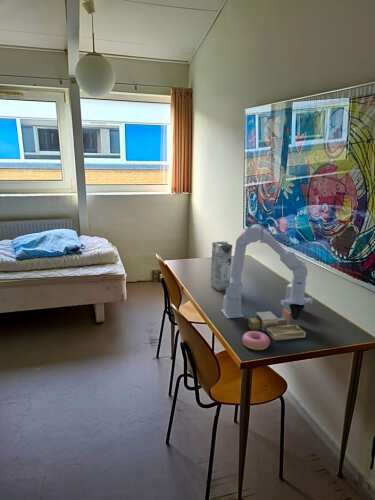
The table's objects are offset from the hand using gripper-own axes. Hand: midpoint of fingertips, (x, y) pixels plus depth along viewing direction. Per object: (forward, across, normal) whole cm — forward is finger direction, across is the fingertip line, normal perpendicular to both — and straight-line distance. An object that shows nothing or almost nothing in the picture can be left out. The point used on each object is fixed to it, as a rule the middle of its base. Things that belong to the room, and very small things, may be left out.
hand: (294, 318), depth 163 cm
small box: (+3, +7, +14) cm, 15 cm away
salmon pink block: (+2, -8, 0) cm, 8 cm away
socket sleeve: (+2, -14, 0) cm, 14 cm away
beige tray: (+2, -9, -8) cm, 13 cm away
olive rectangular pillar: (+3, -17, 0) cm, 17 cm away
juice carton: (+3, -18, +50) cm, 53 cm away
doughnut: (+3, -25, -14) cm, 28 cm away
